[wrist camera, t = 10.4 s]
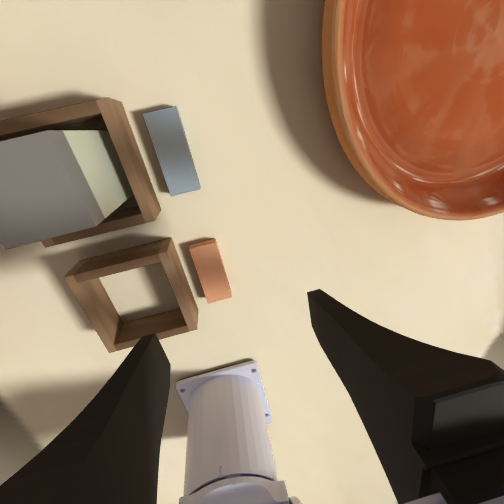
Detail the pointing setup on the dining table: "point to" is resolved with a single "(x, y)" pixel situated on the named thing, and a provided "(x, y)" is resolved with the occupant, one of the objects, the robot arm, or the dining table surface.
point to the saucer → (420, 100)
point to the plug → (58, 184)
